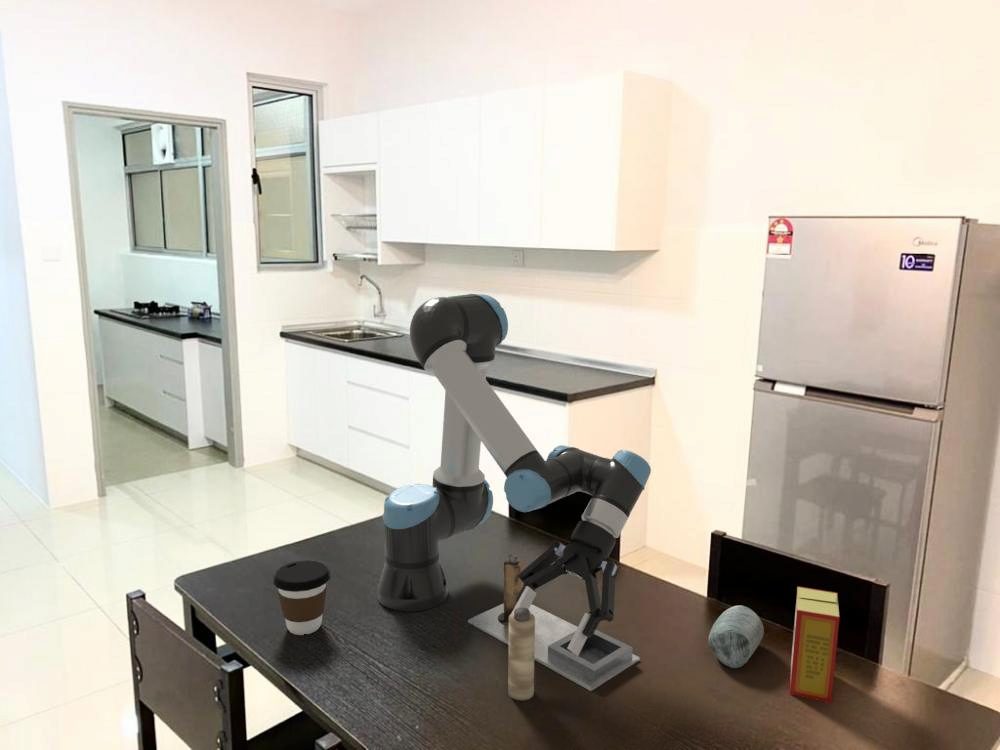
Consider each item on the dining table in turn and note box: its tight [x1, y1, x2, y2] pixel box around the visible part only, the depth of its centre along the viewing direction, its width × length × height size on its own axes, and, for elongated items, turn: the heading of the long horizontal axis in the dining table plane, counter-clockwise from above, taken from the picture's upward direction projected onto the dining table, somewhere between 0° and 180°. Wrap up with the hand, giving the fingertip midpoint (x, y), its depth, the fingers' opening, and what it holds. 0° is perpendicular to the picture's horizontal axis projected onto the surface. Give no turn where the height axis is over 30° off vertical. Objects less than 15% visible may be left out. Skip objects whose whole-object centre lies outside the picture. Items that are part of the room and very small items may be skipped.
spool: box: [708, 605, 765, 669], centre depth 142 cm, size 14×10×10 cm
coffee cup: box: [272, 560, 331, 636], centre depth 151 cm, size 11×11×12 cm
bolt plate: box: [467, 553, 640, 692], centre depth 146 cm, size 32×14×14 cm, turn 44°
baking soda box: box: [789, 586, 840, 703], centre depth 132 cm, size 10×6×16 cm
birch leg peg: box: [507, 607, 535, 702], centre depth 129 cm, size 4×4×15 cm
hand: (542, 636), depth 130 cm, fingers open, 13 cm apart
